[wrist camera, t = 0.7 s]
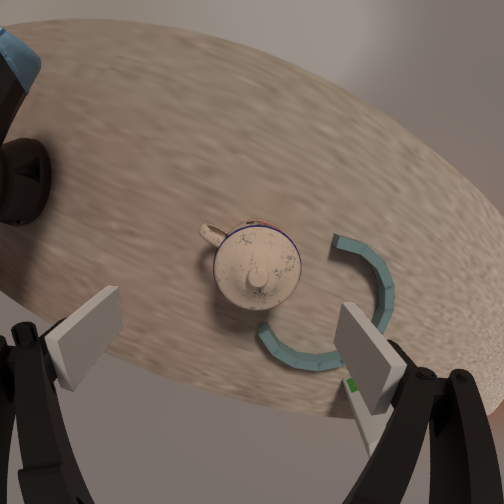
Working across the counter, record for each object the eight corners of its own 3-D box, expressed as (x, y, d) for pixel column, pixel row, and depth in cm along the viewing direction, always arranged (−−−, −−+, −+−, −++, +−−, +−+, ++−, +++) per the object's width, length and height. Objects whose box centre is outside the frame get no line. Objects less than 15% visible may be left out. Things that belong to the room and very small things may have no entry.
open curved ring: (251, 334, 39) (251, 342, 37) (341, 224, 36) (346, 226, 34) (327, 379, 41) (330, 388, 39) (409, 287, 38) (416, 292, 36)
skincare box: (384, 360, 41) (424, 418, 26) (387, 385, 42) (422, 441, 27) (339, 379, 42) (368, 445, 26) (346, 403, 43) (371, 466, 28)
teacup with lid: (303, 241, 37) (325, 263, 25) (266, 296, 38) (271, 338, 27) (225, 192, 35) (213, 192, 24) (190, 251, 37) (165, 276, 25)
